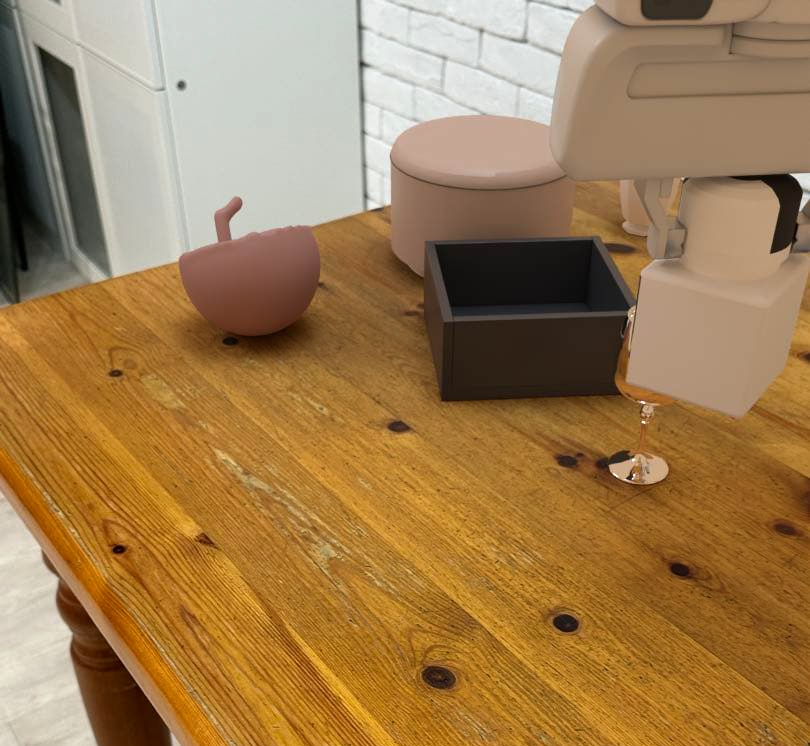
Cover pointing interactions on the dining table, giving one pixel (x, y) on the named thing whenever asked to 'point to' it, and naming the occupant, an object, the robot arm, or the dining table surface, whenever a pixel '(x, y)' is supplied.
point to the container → (475, 184)
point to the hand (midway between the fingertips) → (730, 252)
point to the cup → (640, 207)
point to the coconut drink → (252, 276)
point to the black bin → (523, 316)
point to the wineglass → (639, 462)
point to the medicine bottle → (722, 295)
